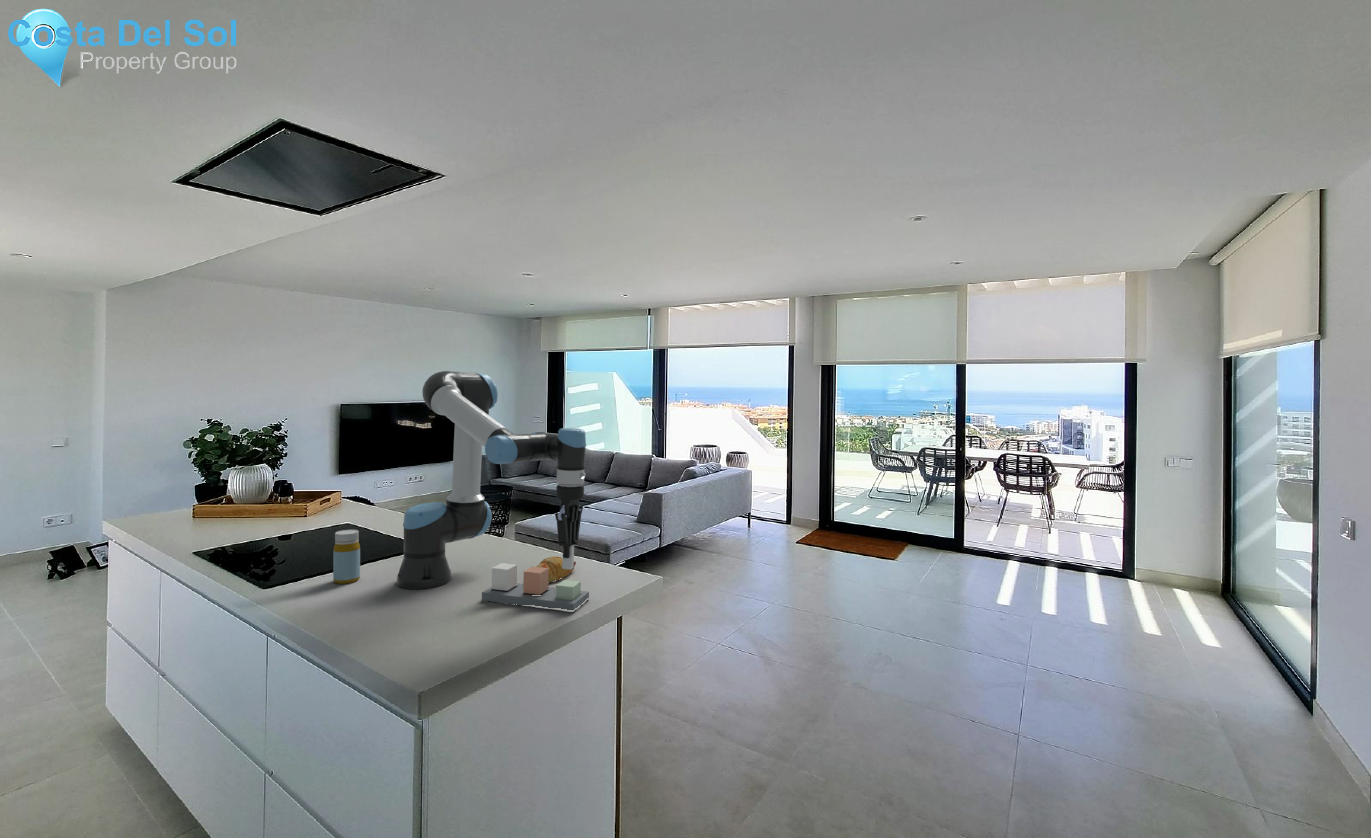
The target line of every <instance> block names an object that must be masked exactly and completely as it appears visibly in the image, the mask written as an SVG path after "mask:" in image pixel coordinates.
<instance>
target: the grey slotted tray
mask: <svg viewBox="0 0 1371 838" xmlns="http://www.w3.org/2000/svg"><path fill="white" fill-rule="evenodd" d="M523 584H524V583H520V582H517V585H516V586H515V587H513V588H511V589H510V590H508V591H505V590H497V589H492V586H490V587H489V588H487V589H486V590H483V591H482V592H481V602H485V601H491V602H490V603H493V602H498V603H497V604H500V603H507V604H506V605H508V604H515V605H514V606H516V604H517V605H535V606H542V607H548V608H561V609H567V610H574V609H575V608H577V607H578V606H579V605H581V604H582V603H583V602H584V601H585V600H586V599H587V598H589V599H590V591H586V590H581V591H580V596H578V597H577V598H576V599H575V600H573V601H572V600H564V599H556V587H552V586H548V589H547V590H546V591H544V592H543V593H541V594H540V595H541V596H532V595H538V594H530V593H523Z"/></svg>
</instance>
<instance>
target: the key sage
mask: <svg viewBox="0 0 1371 838" xmlns="http://www.w3.org/2000/svg"><path fill="white" fill-rule="evenodd" d="M581 585H582V581H578V580H570V579H569V580H568V579H564V580H563V579H562V581H560V582H559V583H557V584H555V588H556V599H564V600H572V601H573V600H575V599H576V598H577V597H578V596H580V591H582V590H581V587H582V586H581Z"/></svg>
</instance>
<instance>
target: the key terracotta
mask: <svg viewBox="0 0 1371 838" xmlns="http://www.w3.org/2000/svg"><path fill="white" fill-rule="evenodd" d="M548 571H549V568H542V567H536V566H530V568H527V569H525V570H524V571H523V583H522V584H523V593H530V594H538V595H540V594H541V593H543V592H544V591H546V590H547V589H548V587H549V583H548Z"/></svg>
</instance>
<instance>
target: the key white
mask: <svg viewBox="0 0 1371 838" xmlns="http://www.w3.org/2000/svg"><path fill="white" fill-rule="evenodd" d="M517 583H518V564H512V563H504V562H501V563H499V564H497V565H495V566H493V567H491V587H492V589H497V590H505V591H508V590H510V589H511V588H513V587H515V586H516V585H517Z"/></svg>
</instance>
